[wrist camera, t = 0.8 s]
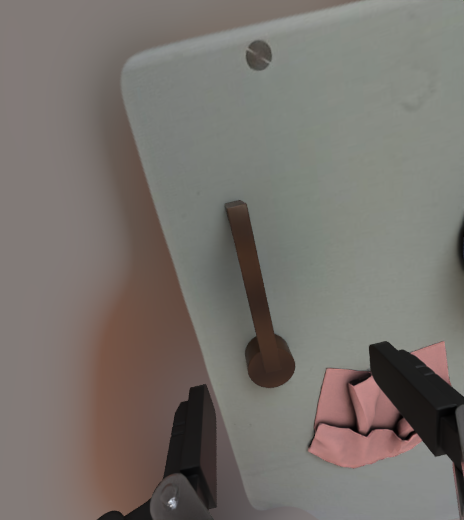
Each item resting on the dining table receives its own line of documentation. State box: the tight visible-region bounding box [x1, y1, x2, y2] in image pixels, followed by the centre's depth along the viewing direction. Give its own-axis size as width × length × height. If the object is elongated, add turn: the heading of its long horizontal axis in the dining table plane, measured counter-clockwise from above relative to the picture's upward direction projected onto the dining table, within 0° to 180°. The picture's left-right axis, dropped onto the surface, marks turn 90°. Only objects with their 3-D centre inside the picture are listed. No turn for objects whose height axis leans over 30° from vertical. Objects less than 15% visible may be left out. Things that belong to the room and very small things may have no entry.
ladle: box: [225, 200, 295, 388], centre depth 25 cm, size 21×5×6 cm, turn 13°
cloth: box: [308, 341, 452, 469], centre depth 32 cm, size 20×22×2 cm
